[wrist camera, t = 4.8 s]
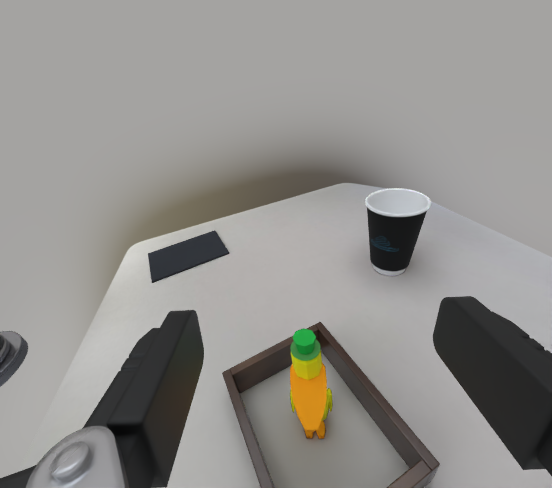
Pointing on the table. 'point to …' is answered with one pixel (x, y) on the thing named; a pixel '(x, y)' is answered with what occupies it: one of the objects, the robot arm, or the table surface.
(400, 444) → the tray box
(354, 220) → the table surface
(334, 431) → the table surface
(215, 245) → the rubber pad
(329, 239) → the table surface
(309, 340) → the toy figure
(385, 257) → the dixie cup
